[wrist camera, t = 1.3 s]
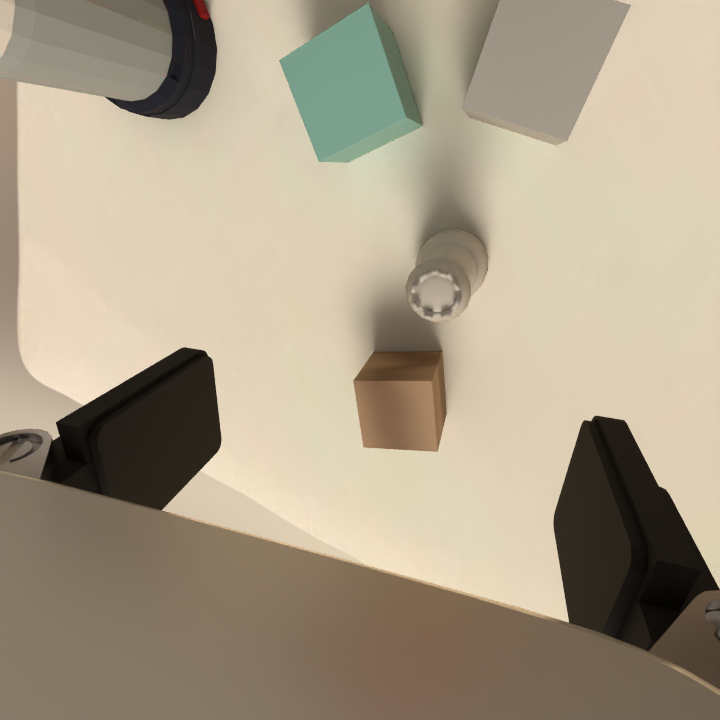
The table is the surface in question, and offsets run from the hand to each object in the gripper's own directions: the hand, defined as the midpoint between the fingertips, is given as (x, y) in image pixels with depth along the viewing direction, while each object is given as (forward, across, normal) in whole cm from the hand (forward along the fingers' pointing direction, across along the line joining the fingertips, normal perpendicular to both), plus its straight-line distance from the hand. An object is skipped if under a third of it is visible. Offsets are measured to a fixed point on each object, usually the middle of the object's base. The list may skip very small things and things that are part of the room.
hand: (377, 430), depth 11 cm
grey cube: (+20, -3, -10) cm, 22 cm away
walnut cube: (+20, +2, +9) cm, 22 cm away
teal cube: (+20, +6, -9) cm, 23 cm away
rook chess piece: (+20, 0, 0) cm, 20 cm away
